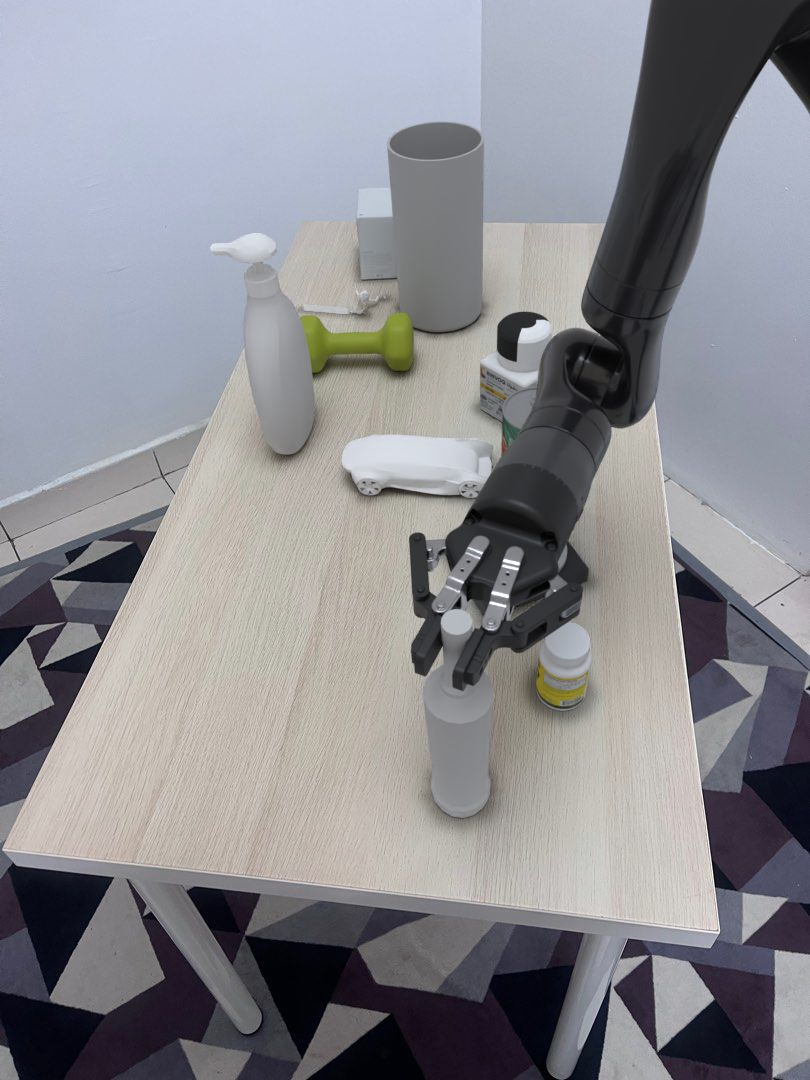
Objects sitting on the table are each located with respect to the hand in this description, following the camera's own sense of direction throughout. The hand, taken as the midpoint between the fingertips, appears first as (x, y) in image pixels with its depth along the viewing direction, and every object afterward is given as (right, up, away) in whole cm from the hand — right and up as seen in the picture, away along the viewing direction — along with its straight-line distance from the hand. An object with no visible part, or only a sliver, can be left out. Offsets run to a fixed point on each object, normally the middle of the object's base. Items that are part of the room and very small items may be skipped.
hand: (438, 675), depth 51 cm
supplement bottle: (+13, -6, +25) cm, 29 cm away
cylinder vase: (+3, +43, +70) cm, 83 cm away
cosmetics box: (-6, +55, +81) cm, 98 cm away
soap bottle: (-17, +23, +53) cm, 61 cm away
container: (+13, +26, +54) cm, 61 cm away
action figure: (-12, +45, +73) cm, 86 cm away
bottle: (+3, -13, +19) cm, 23 cm away
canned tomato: (+13, +16, +44) cm, 49 cm away
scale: (+10, +6, +36) cm, 37 cm away
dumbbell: (-9, +33, +62) cm, 71 cm away
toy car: (-1, +17, +46) cm, 49 cm away
